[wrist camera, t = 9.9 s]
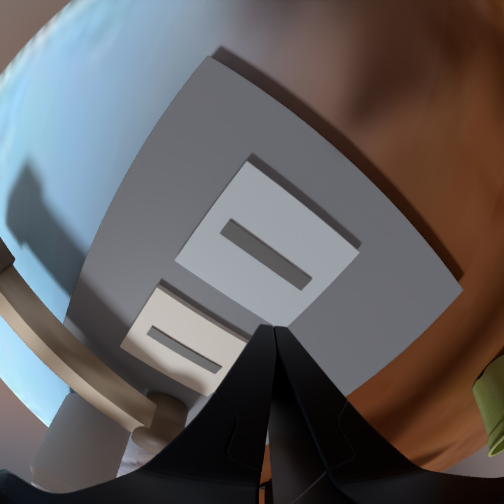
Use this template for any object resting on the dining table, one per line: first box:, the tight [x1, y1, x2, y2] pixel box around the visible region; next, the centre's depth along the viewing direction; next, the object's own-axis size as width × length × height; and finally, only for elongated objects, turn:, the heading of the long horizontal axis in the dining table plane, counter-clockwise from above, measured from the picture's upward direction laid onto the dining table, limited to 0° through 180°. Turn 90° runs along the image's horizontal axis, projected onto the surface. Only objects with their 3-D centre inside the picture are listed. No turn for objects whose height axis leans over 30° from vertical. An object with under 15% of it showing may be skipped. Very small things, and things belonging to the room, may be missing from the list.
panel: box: [63, 56, 463, 445], centre depth 17 cm, size 20×24×1 cm
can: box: [30, 393, 131, 493], centre depth 17 cm, size 8×8×12 cm
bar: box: [0, 237, 188, 454], centre depth 15 cm, size 20×4×4 cm, turn 39°
